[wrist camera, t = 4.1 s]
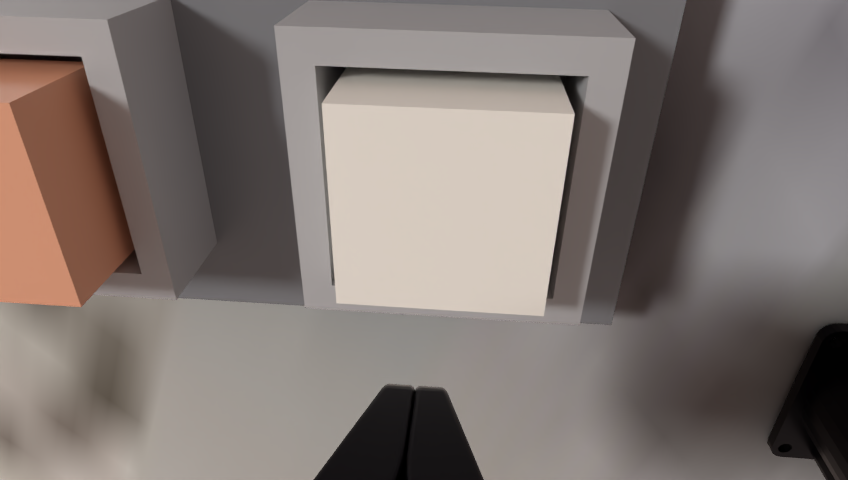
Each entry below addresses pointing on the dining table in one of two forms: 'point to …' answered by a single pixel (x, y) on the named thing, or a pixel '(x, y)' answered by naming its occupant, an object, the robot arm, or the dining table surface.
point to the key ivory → (445, 187)
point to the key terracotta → (55, 187)
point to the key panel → (304, 135)
